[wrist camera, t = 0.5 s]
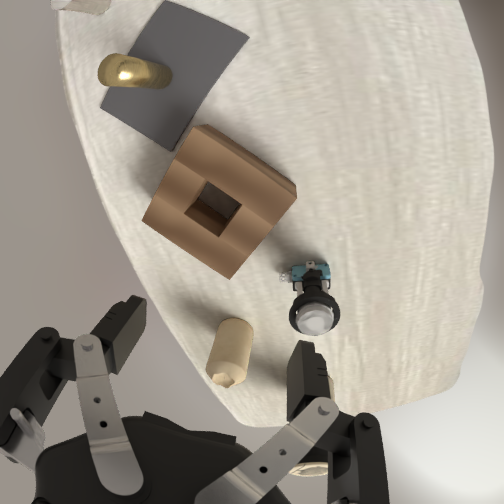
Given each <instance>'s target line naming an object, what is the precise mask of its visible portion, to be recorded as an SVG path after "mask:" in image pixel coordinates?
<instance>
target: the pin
mask: <svg viewBox="0 0 504 504" xmlns="http://www.w3.org/2000/svg"><path fill="white" fill-rule="evenodd" d="M172 77H173V74H172V71H171V69H170V68H169V67H167V66H164V65H161V64H157V63H154V62H150V61H146V60H142V59H139V58H135V57H130V56H126V55H122V54H117V53H114V54H111V55H108V56H107V57H106V58H105V59H104V60H103V61H102V62H101V64H100V66H99V68H98V79H99V81H100V83H101V84H103V85H104V86H117V87H135V88H148V89H164V88H166V87H167V86H168V85H169V84H170V83H171V81H172Z"/></svg>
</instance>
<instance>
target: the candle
mask: <svg viewBox="0 0 504 504" xmlns="http://www.w3.org/2000/svg"><path fill="white" fill-rule="evenodd" d="M252 340H253V329H252V327H251V326H250V325H249V324H248V323H247V322H245V321H244V320H241V319H237V318H229V319H226V320H224V321H222V322H221V324H220V325H219V328H218V330H217V334H216V337H215V340H214V343H213V346H212V350H211V353H210V356H209V359H208V362H207V366H206V372H207V374H208V375H209V377H210V378H211V379H212V380H213V382H214V383H215V384H217V385H222V386H223V387H225V388H229V387H231V386H233V385H237V384H239V383H241V382H243V381H244V380H245V378H246V374H247V368H248V363H249V357H250V351H251V346H252Z"/></svg>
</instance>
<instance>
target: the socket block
mask: <svg viewBox="0 0 504 504" xmlns="http://www.w3.org/2000/svg"><path fill="white" fill-rule="evenodd" d="M208 182H210V183H211V184H213V185H214V186H216V187H217V188H219V189H220V190H222V191H223V192H225V193H226V194H228V195H229V196H231V197H232V198H233V199H235V200H236V201H238V202H239V203H240V204H239V206H238V207H237V209H236V210H235V211H234V213H233V214H232V215H231V217H230V218H229V220H228V219H226V218H225V217H223V216H222V215H220V214H219V213H218V212H216V211H215V210H213V209H212V208H210V207H209V206H207V205H206V204H204V203H203V202H201V201H200V200H198V197H199V196H200V194H201V193H202V191H203V190H204V188H205V186H206V185H207V183H208ZM296 199H297V192H296V185H295V184H294V183H292V182H291V181H290V180H288V179H287V178H286V177H284V176H283V175H281V174H280V173H279V172H277V171H276V170H275V169H273V168H272V167H270V166H269V165H268V164H266V163H265V162H263V161H262V160H261V159H259V158H258V157H256V156H255V155H253V154H252V153H251V152H249V151H248V150H246V149H245V148H243V147H242V146H240V145H239V144H237V143H236V142H234V141H233V140H231V139H230V138H228V137H227V136H225V135H224V134H222V133H221V132H219V131H218V130H216V129H214V128H213V127H211V126H210V125H208V124H207V125H201V126H195V127H193V128H192V130H191V131H190V133H189V135H188V136H187V138H186V140H185V141H184V143H183V145H182V146H181V148H180V150H179V151H178V153H177V155H176V156H175V158H174V160H173V162H172V163H171V165H170V167H169V169H168V171H167V172H166V174H165V176H164V178H163V180H162V182H161V183H160V185H159V187H158V189H157V191H156V193H155V195H154V197H153V199H152V201H151V203H150V205H149V207H148V209H147V211H146V213H145V215H144V217H143V219H142V222H144V223H145V224H147V225H148V226H150V227H151V228H152V229H154V230H155V231H157V232H158V233H160V234H161V235H163V236H164V237H166V238H167V239H168V240H170V241H171V242H173V243H174V244H176V245H177V246H179V247H180V248H182V249H183V250H185V251H186V252H188V253H189V254H191V255H192V256H194V257H195V258H197V259H198V260H200V261H201V262H203V263H204V264H206V265H207V266H209V267H210V268H212V269H213V270H215V271H217V272H218V273H220V274H221V275H223V276H224V277H226V278H227V279H229V280H230V279H231V277H232V276H233V275H234V274H235V273H236V271H237V270H238V269H239V268H240V267H241V265H242V264H243V263H244V262H245V261H246V259H247V258H248V257H249V256H250V255H251V253H252V252H253V251H254V250H255V249H256V247H257V246H258V245H259V244H260V242H261V241H262V240H263V239H264V238H265V236H266V235H267V234H268V233H269V232H270V230H271V229H272V228H273V227H274V226H275V224H276V223H277V222H278V221H279V220H280V218H281V217H282V216H283V215H284V213H285V212H286V211H287V210H288V209H289V207H290V206H291V205H292V204H293V203H294V201H295V200H296Z"/></svg>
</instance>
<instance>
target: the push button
mask: <svg viewBox="0 0 504 504" xmlns="http://www.w3.org/2000/svg"><path fill="white" fill-rule="evenodd" d="M309 263H312V264H309ZM279 274H280V277H279V281H280V282H288V283H289V282H293V291H297V298H296V299H295V300H294V302H293V305H292V307H291V309H290V312H289V321H290V324H291V326H292V327H293V328H294V329H295V330H296V331H298V332H300V333H302V334H306V335H310V336H318V335H322V334H324V333H326V332H328V331H330V330H331V329H333V328H334V327H335V326H336V325H337V323H338V321H339V319H340V309H339V306H338V304H337V303H336V302H335V299H334V298H333V297H332V296H330V295H329V294H328V289H330V269H329V265H328V264H319V265H315V263H314V261H307V262H306V265H303V266H293V267H292V271H288V272H281V273H279ZM282 274H285V276H282ZM282 278H285V280H282ZM321 290H322V291H321ZM303 291H304V293H303ZM330 306H331V307H332V308H333V310H332V311H331V307H330ZM296 311H297V312H298V314H296Z"/></svg>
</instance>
